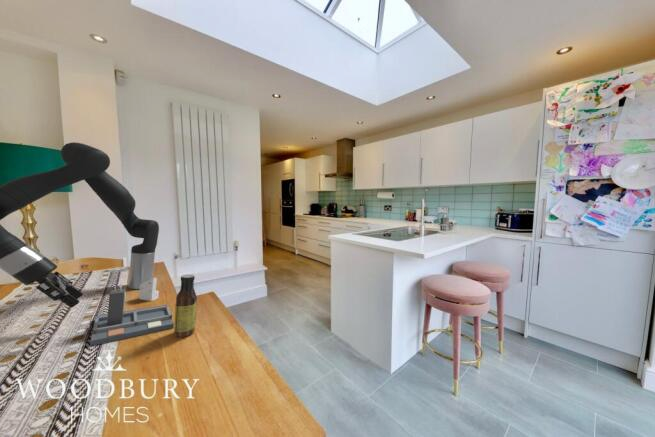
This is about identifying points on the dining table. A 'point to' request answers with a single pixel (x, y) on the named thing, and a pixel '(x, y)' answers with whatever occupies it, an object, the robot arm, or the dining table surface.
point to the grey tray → (132, 324)
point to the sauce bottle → (185, 307)
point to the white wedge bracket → (149, 290)
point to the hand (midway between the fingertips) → (78, 300)
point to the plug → (116, 307)
